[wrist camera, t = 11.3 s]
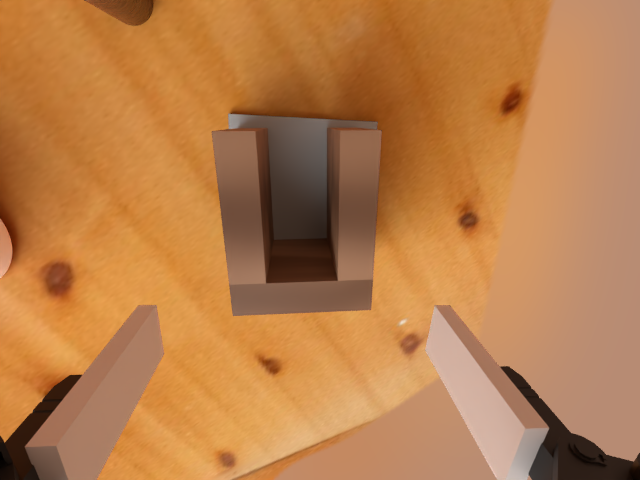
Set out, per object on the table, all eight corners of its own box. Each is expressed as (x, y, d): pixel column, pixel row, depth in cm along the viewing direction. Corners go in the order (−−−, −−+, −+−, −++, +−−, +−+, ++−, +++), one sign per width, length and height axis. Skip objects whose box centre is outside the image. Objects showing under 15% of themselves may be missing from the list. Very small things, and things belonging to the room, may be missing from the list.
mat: (229, 113, 21) (228, 113, 21) (376, 121, 22) (377, 121, 22) (236, 275, 26) (235, 277, 25) (360, 277, 26) (361, 279, 26)
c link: (351, 261, 25) (371, 309, 19) (249, 264, 25) (232, 315, 18) (355, 127, 22) (381, 130, 15) (237, 128, 21) (211, 131, 15)
